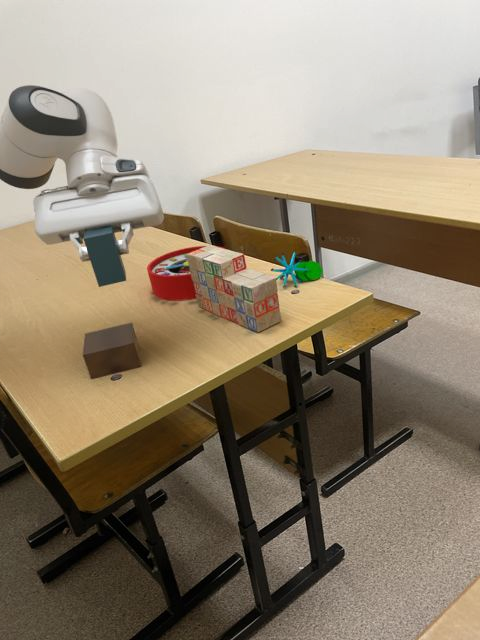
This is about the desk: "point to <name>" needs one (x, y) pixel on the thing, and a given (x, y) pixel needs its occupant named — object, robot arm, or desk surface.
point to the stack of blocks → (233, 288)
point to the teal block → (104, 256)
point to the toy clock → (173, 275)
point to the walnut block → (111, 350)
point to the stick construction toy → (298, 270)
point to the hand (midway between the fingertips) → (104, 256)
